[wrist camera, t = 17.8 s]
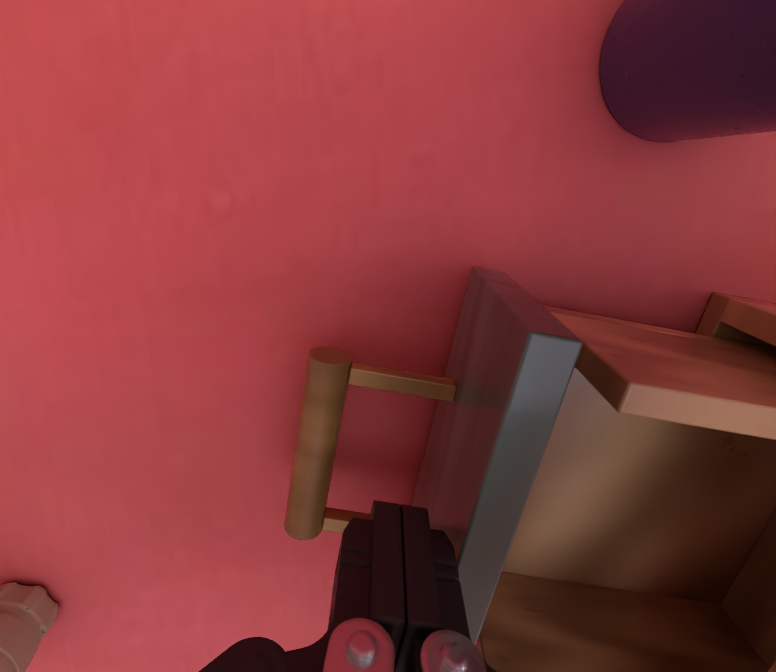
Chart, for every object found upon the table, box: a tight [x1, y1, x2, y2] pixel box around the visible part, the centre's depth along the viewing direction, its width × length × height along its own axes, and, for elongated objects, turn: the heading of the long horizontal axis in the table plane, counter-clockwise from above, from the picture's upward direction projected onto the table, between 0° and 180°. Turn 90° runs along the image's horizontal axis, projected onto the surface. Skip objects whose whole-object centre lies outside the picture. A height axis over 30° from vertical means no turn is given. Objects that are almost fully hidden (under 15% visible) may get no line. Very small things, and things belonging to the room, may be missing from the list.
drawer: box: [284, 267, 776, 672], centre depth 15 cm, size 20×14×7 cm
